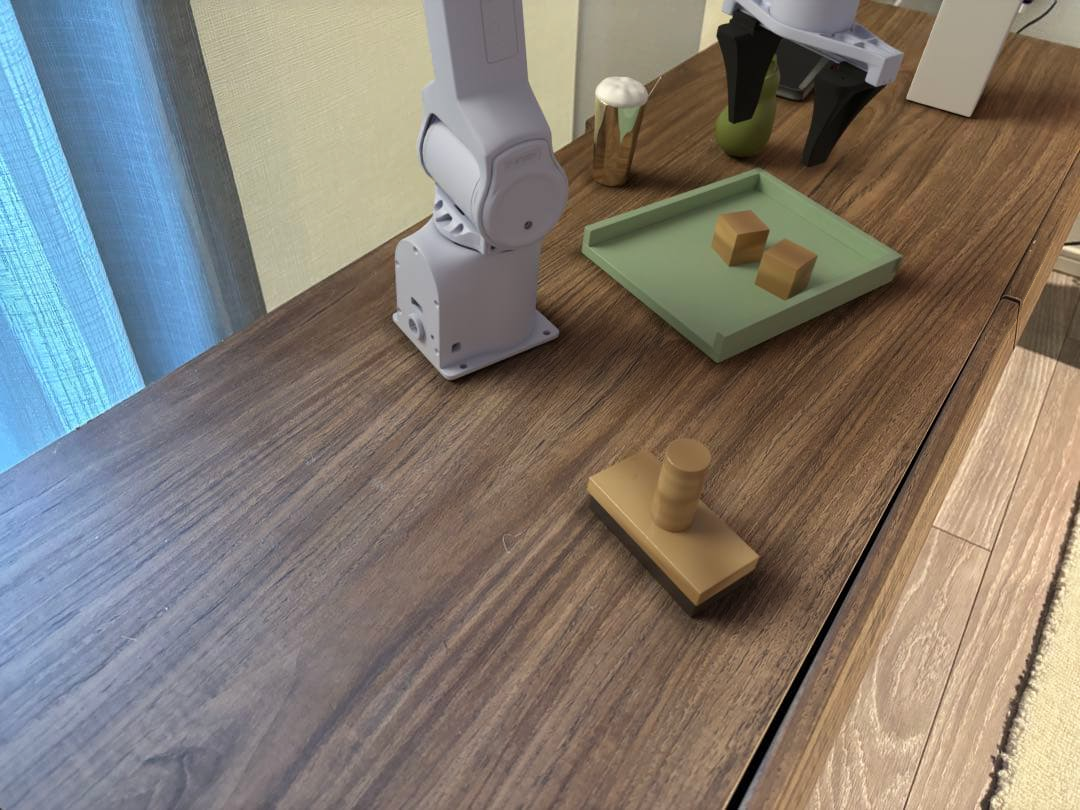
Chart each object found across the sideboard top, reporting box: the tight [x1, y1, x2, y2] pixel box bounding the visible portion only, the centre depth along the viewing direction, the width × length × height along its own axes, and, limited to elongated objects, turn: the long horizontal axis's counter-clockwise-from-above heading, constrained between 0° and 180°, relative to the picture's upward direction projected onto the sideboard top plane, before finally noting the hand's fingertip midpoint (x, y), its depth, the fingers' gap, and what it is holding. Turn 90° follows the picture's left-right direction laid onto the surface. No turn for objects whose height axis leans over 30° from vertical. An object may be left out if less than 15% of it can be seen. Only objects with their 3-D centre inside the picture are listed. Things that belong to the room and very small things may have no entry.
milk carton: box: [905, 0, 1024, 118], centre depth 92 cm, size 7×7×19 cm
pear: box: [714, 54, 780, 158], centre depth 82 cm, size 6×5×10 cm
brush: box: [586, 437, 760, 618], centre depth 48 cm, size 4×9×8 cm, turn 36°
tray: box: [581, 167, 903, 364], centre depth 71 cm, size 20×16×2 cm
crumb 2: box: [755, 238, 818, 301], centre depth 67 cm, size 3×3×3 cm
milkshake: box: [591, 75, 662, 188], centre depth 77 cm, size 4×5×10 cm
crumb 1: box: [711, 210, 770, 266], centre depth 70 cm, size 3×3×3 cm
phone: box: [775, 37, 836, 101], centre depth 101 cm, size 8×1×15 cm
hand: (775, 140), depth 67 cm, fingers open, 7 cm apart
